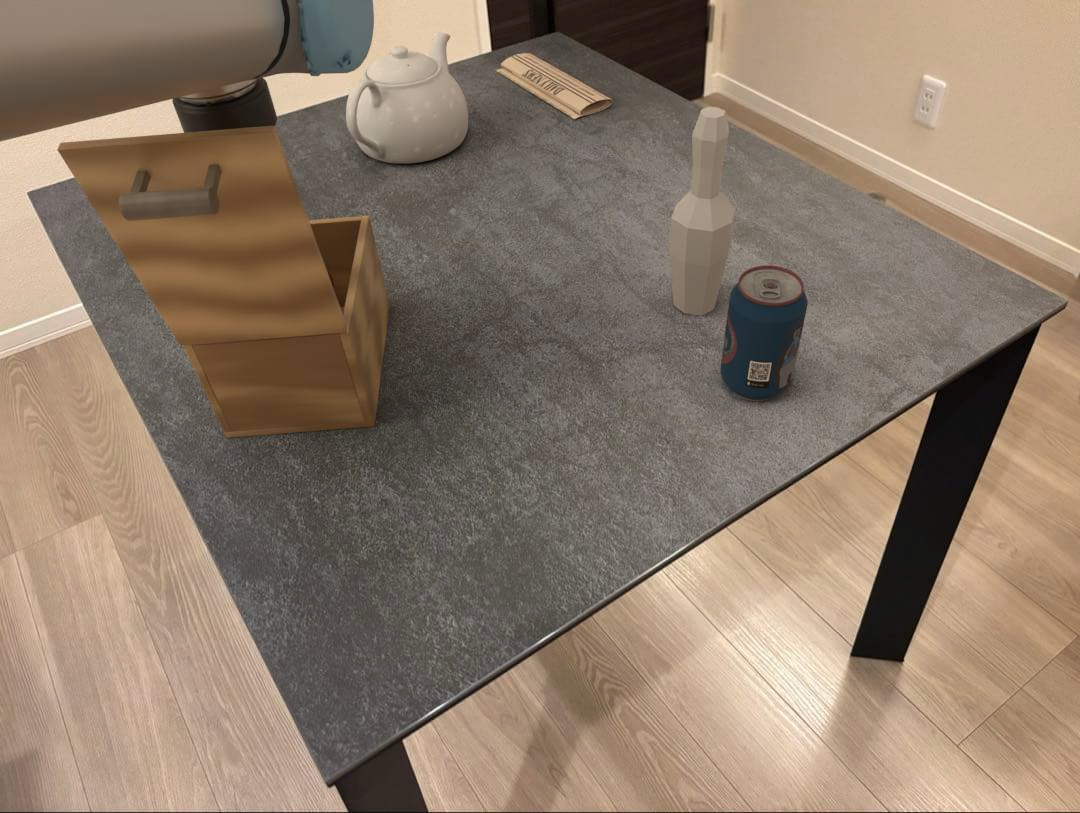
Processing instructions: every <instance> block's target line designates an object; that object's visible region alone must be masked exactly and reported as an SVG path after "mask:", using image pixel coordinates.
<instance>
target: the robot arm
mask: <svg viewBox="0 0 1080 813" xmlns="http://www.w3.org/2000/svg"><path fill="white" fill-rule="evenodd" d="M374 28H375V11H374V0H0V142H4V141H9V140H13V139H17V138H20V137H25V136H29V135H32V134H36V133H40V132H41V133H42V132H44V131H48V130H53V129H56V128H61V127H65V126H69V125H73V124H77V123H81V122H86V121H89V120H93V119H97V118H102V117H106V116H109V115H113V114H118V113H122V112H125V111H129V110H134V109H137V108H143V107H146V106H150V105H154V104H158V103H161V102H165V101H169V100H170V101H171V100H172V105H173V108H174V110H175V112H176V115H177V118H178V120H179V124H180V126H181V128H182V131H183V133H188V132H200V131H212V130H225V129H237V128H250V127H262V126H275V127H276V126H277V122H278V115H277V112H276V109H275V105H274V102H273V98H272V95H271V92H270V88H269V85H268V81H267V80H266V78H267V77H271V76H275V75H280V74H282V75H283V74H306V75H307V74H309V75H310V76H311V77H319V76H321V75H323V74H324V75H325V74H326V75H327V74H332V75H333V74H349V73H352V72H354V71H356V70H358V68H360V67H361V65H363V63H364V61H365V60H366V59H367V57H368V54H369V52H370V49H371V47H372V43H373V37H374Z"/></svg>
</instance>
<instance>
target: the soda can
mask: <svg viewBox="0 0 1080 813" xmlns="http://www.w3.org/2000/svg"><path fill="white" fill-rule="evenodd" d="M728 298H729V299H728V306H727V307H728V308H727V314H726V315H727V316H726V322H725V329H724V330H725V331H724V336H723V348H722V354H721V360H720V375H721V378H722V380H723V382H724V383H725V385H726V386H727V388H728V389H729V390H730V391H731V392H732V393H733V394H734V395H735V396H737V397H739V398H741V399H743V400H746V401H751V402H765V401H766V402H767V401H769V400H772V399H774V398H776V397H778V396H779V395H780V394H782V393H783V392H785V390H787V389H788V387H789V386H790V385H791V383H792V381H793V378H794V373H795V369H796V368H795V367H796V363H797V358H798V353H799V348H800V344H801V339H802V334H803V330H804V324H805V319H806V315H807V310H808V304H809V302H808V297H807V294H806V292H805V284H804V282H803V280H802V277H800V275H798V274H797V273H796V272H794V271H792V270H791V269H788V268H785V267H782V266H778V265H757V266H754V267H751V268H748V269H746V270H745V271H743V272H742V273H741V274H740V276H739V277H738V282H737V283H736V284H735V285H734V286H733V287H732V289H731V290H730V292H729V297H728Z"/></svg>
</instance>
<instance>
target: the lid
mask: <svg viewBox="0 0 1080 813" xmlns="http://www.w3.org/2000/svg"><path fill="white" fill-rule="evenodd" d="M57 152H58V154H59V155H60V157H61V158H62V160H63V161H64V163H65V164H66V166H67V168H68V169H69V171H70V173H71V174H72V176H73V178H74V179H75V180H76V182H77V183H78V185H79V187H80V188H81V190H82V192H83V193H84V195H85V196H86V198H87V199H88V202H89V203H90V204H91V207H92V208H93V209H94V211H95V212H96V214H97V216H98V217H99V219H100V220H101V222H102V223H103V225H104V227H105V228H106V230H107V231H108V233H109V235H110V236H111V237H112V239H113V241H114V242H115V244H116V246H117V247H118V249H119V251H120V252H121V254H122V255H123V257H124V258H125V260H126V261H127V263H128V265H129V266H130V269H132V271H133V272H134V274H135V276H136V278H137V279H138V281H139V282H140V284H141V285H142V287H143V289H144V290H145V292H146V293H147V295H148V297H149V299H151V301H152V303H153V305H154V306H155V308H156V309H157V311H158V312H159V314H160V316H161V317H162V319H163V320H164V322H165V323H166V325H167V327H168V328H169V330H170V331H171V333H172V334H173V336H174V338H175V340H176V341H177V342H178V344H179V345H180V347H182V346H183V347H184V345H196V344H208V343H221V342H234V341H246V340H259V339H271V338H284V337H296V336H309V335H322V334H334V333H346V331H347V325H346V322H345V319H344V316H343V314H342V311H341V308H340V305H339V303H338V300H337V297H336V294H335V292H334V289H333V286H332V283H331V281H330V278H329V275H328V272H327V270H326V267H325V264H324V261H323V258H322V256H321V253H320V250H319V247H318V245H317V242H316V239H315V236H314V234H313V231H312V228H311V225H310V223H309V217H308V214H307V212H306V209H305V206H304V203H303V200H302V199H301V198H302V197H301V195H300V193H299V189H298V187H297V185H296V181H295V179H294V176H293V173H292V171H291V167H290V164H289V162H288V159H287V157H286V154H285V151H284V148H283V146H282V143H281V140H280V137H279V135H278V132H277V129H276V125H275V126H262V127H250V128H237V129H225V130H212V131H200V132H188V133H184V132H177V133H165V134H152V135H142V136H141V135H139V136H126V137H115V138H101V139H90V140H77V141H67V142H65V141H63V142H60V143H59V144H58V147H57Z"/></svg>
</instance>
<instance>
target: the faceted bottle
mask: <svg viewBox="0 0 1080 813" xmlns="http://www.w3.org/2000/svg"><path fill="white" fill-rule="evenodd" d="M729 135H730V126H729V122H728V116H727V112H726V110H724V109H722V108H720V107H718V106H707V107H705V108H702V109H701V110H700V112H699V114H698V118H697V120H696V123H695V126H694V129H693V131H692V134H691V147H692V148H691V150H692V151H691V152H692V153H691V154H692V155H691V156H692V167H691V168H692V170H691V180H690V181H691V182H690V190H689V191H688V192H687V193H686V194H685V195H684V196H683V197H682V198H681V199H680V200H679V201H678V202H677V204H675V207H674V210H673V212H672V215H671V217H670V232H669V249H668V250H669V251H668V257H669V267H670V278H671V279H670V280H671V290H672V301H673V303H672V304H673V306H674V307H675V308H676V309H678V310H679V311H681V312H682V313H683V314H686V315H692V316H698V317H699V316H700V317H702V316H705V315H706V314H708V313H710V312H712V311H714V310H715V308H716V303H717V300H718V296H719V292H720V288H721V285H722V282H723V277H724V273H725V271H726V270H725V269H726V266H727V261H728V258H729V254H730V250H731V246H732V239H733V232H734V224H735V217H736V216H735V215H736V208H735V207H734V206H733V204H732V203H731V202H730V200H729V199H728V198H727V196H726V195H725V194H724V193H723V191H722V190H721V186H722V177H723V168H724V160H725V154H726V149H727V145H728V140H729Z"/></svg>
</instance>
